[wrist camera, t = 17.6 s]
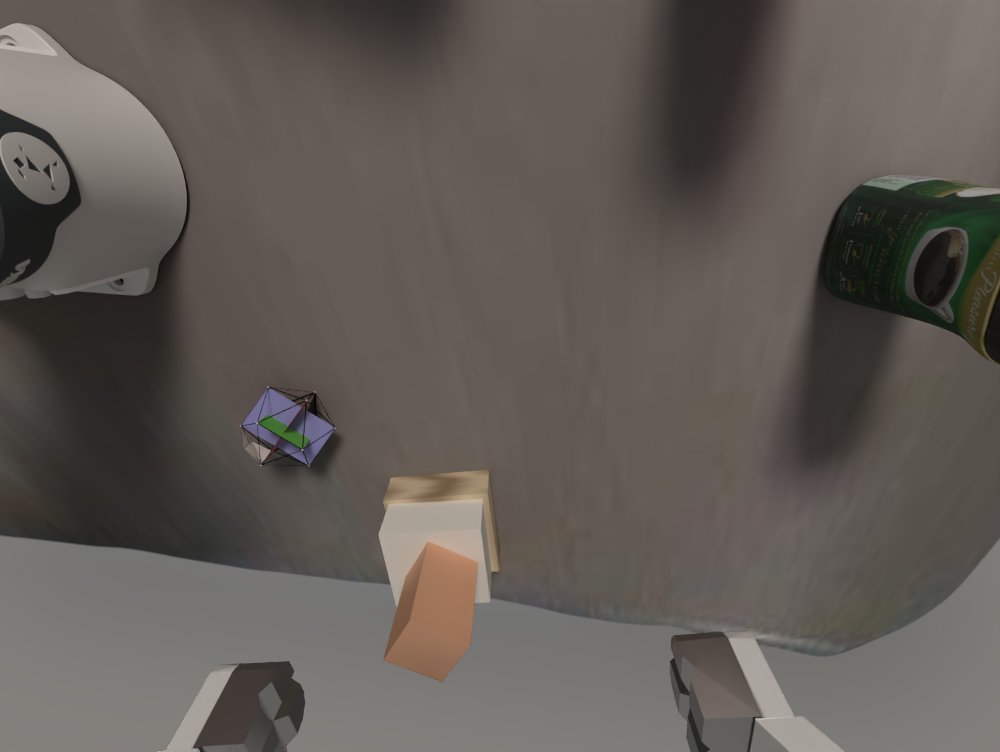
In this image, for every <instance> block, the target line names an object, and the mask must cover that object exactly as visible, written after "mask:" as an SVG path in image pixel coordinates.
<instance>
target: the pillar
mask: <svg viewBox="0 0 1000 752" xmlns="http://www.w3.org/2000/svg"><path fill="white" fill-rule="evenodd" d="M477 572H478V562H475V561H473V560H471V559H468V558H466V557H464V556H461V555H459V554H457V553H454V552H452V551H450V550H447V549H445V548H442V547H440V546H438V545H435V544H433V543H431V542H427V544H426V545H425V547H424V548H423V550H422V552H421V553H420V555H419V556H418V558H417V560H416V561H415V563H414V564H413V566H412V568H411V569H410V571H409V572H408V574H407V575H406V577H405V580H404V584H403V588H402V592H401V595H400V599H399V603H398V607H397V611H396V614H395V618H394V622H393V626H392V629H391V633H390V637H389V641H388V645H387V648H386V652H385V656H384V660H385V661H387V662H390V663H393V664H395V665H398V666H401V667H403V668H406V669H409V670H411V671H414V672H417V673H419V674H422V675H425V676H427V677H430V678H433V679H436V680H438V681H441V682H442V681H443V680H444V679H445V677H446V676H447V675H448V673H449V672H450V671H451V670H452V668H453V667H454V665H455V664H456V663H457V662H458V660H459V659H460V658H461V656H462V655H463V654H464V653H465V651H466V650H467V649H468V647H469V646H470V645H471V635H472V625H473V614H474V604H475V593H476V583H477Z"/></svg>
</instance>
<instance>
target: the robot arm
mask: <svg viewBox="0 0 1000 752" xmlns="http://www.w3.org/2000/svg"><path fill="white" fill-rule="evenodd" d="M186 209H187V193H186V184H185V179H184V175H183V171H182V168H181V165H180V162H179V159H178V157H177V154H176V152H175V150H174V148H173V146H172V144H171V142H170V140H169V138H168V137H167V135H166V133H165V132H164V130H163V129H162V127H161V126H160V124H159V123H158V122H157V121H156V119H155V118H154V117H153V116H152V114H151V113H150V112H149V111H148V110H147V109H146V108H145V107H144V106H143V105H142V103H140V102H139V101H138V100H137V99H136V98H135V97H134V96H133V95H132V94H130V93H129V92H128V91H127V90H125V89H124V88H123V87H121V86H120V85H118V84H117V83H115V82H114V81H112V80H111V79H109V78H107V77H105V76H103V75H101V74H99V73H97V72H95V71H93V70H91V69H89V68H87V67H86V66H84V65H82V64H80V63H79V62H77V61H76V60H74V59H73V58H72V57H71V56H70V55H69V54H68V53H67V52H66V51H65V50H64V49H63V48H62V47H61V46H60V45H59V44H58V43H57V42H56V41H55V40H54V39H52V38H51V37H50V36H49V35H48V34H47V33H45V32H44V31H43V30H41V29H40V28H38V27H36V26H33V25H28V24H20V23H15V24H11V25H9V26H7V27H5V28H2V29H0V300H9V299H15V298H19V297H22V296H24V295H25V294H26V296H27V297H28V298H44V297H48V296H51V295H52V294H54V295H61V294H67V293H71V292H74V291H80V292H93V293H106V294H119V295H133V296H136V295H142V294H146V293H149V292H150V291H151V290H152V289H153V287H154V285H155V282H156V278H157V273H158V267H159V263H160V261H161V260H162V258H163V257H164V255H165V254H166V253H167V252H168V251H169V250H170V249H171V247H172V246H173V245H174V243H175V242H176V240H177V239H178V237H179V235H180V233H181V231H182V228H183V225H184V221H185V217H186ZM121 278H122V279H123V281H124V283H123V282H121V280H120V279H121ZM671 649H672V652H673V656H674V658H673V659H672V660H671V661H670V675H671V683H672V689H673V693H674V697H675V701H676V705H677V708H678V711H679V713H680V714H681V716H682V717H684V719H686V721H687V737H686V738H687V741H688V744H689V748H690V751H691V752H845V751H843V750H842V749H841V748H840V747H839V746H837V745H836V744H835V743H834V742H832V741H831V740H830V739H829V738H828V737H827V736H826V735H824V734H823V733H822V732H821V731H820V730H819V729H817V728H816V727H815V726H814V725H813V724H811V723H810V722H809V721H808V720H807V719H806V718H804V717H803V716H794V715H793V713H792V711H791V709H790V707H789V705H788V703H787V701H786V699H785V697H784V695H783V693H782V691H781V689H780V687H779V685H778V683H777V681H776V679H775V677H774V675H773V673H772V671H771V669H770V667H769V665H768V664H767V662H766V660H765V658H764V656H763V654H762V652H761V650H760V648H759V646H758V644H757V642H756V640H755V638H754V636H753V635H752V634H751V633H750V632H749V631H746V630H744V631H732V632H709V633H697V634H687V635H674V636H673V637H672V639H671ZM293 673H294V670H293V668H292V666H291V664H290V662H289V661H285V662H266V663H246V664H243V663H240V664H227V665H226V664H225V665H218V666H217V667H216V668H215V669H213V670H212V672H211V673H210V674H209V675H208V677H207V679H206V681H205V682H204V684H203V686H202V688H201V689H200V691H199V693H198V695H197V696H196V698H195V700H194V701H193V703H192V705H191V707H190V708H189V710H188V712H187V714H186V715H185V717H184V719H183V721H182V722H181V724H180V726H179V728H178V729H177V731H176V733H175V735H174V736H173V738H172V740H171V741H170V743H169V745H168V747H167V749H166V750H159V751H157V752H287V748H286V746H287V745H288V744H289V742H290V741H291V740H292V739H293V738H294V737H295V736H296V735H297V734H298V731H299V728H300V725H301V722H302V720H303V714H304V707H305V698H304V691H303V689H302V686H301V685H300V684H299V683H298V682H296V681H295V680H293V679H292V675H293Z"/></svg>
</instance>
